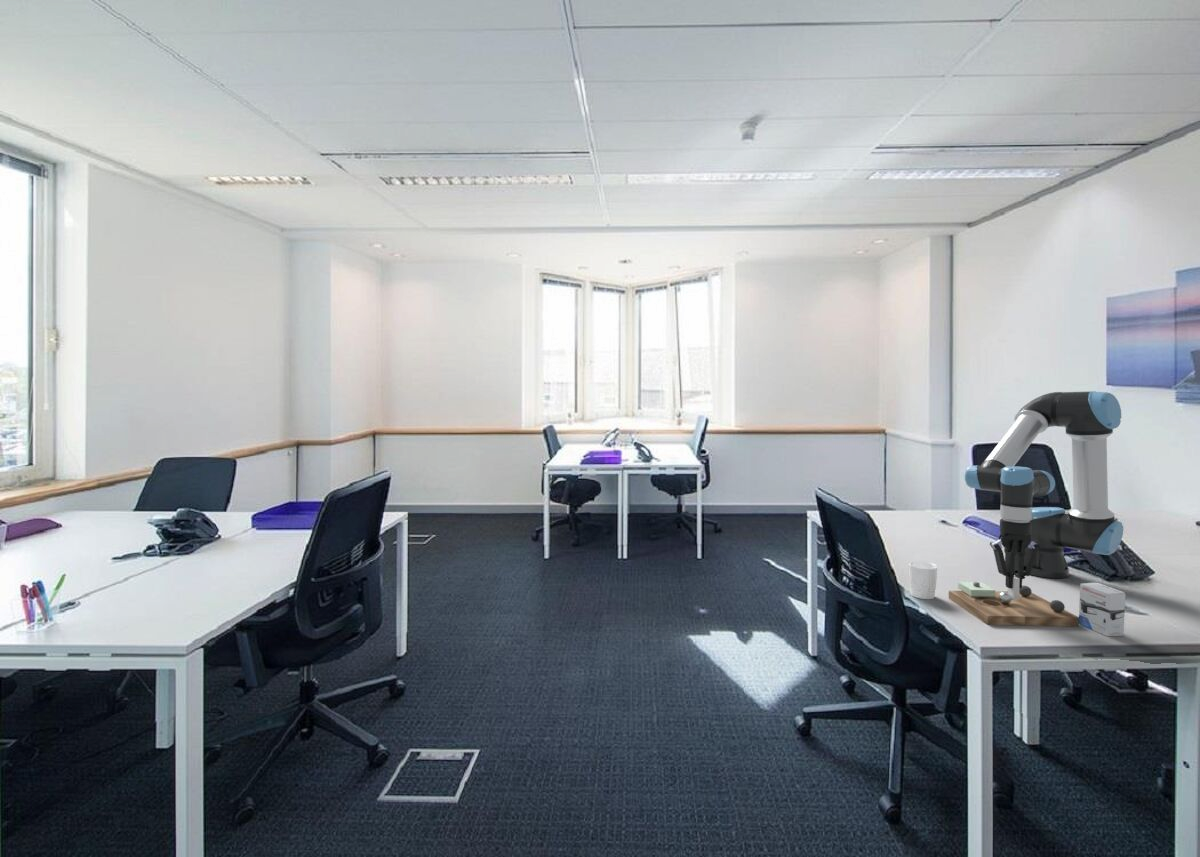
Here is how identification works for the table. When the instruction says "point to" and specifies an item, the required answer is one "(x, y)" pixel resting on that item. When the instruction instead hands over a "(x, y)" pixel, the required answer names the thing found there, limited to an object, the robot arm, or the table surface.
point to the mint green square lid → (976, 589)
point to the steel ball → (1004, 597)
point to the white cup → (922, 579)
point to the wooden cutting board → (1013, 610)
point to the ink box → (1102, 609)
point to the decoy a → (1025, 591)
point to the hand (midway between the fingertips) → (1013, 598)
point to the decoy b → (1057, 606)
